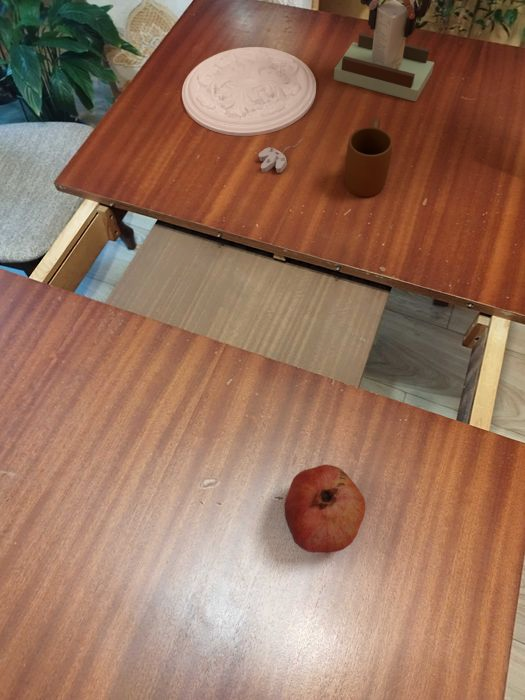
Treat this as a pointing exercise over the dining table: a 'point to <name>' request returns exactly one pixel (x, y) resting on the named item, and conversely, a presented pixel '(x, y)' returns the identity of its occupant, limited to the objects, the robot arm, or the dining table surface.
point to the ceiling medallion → (249, 91)
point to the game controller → (273, 159)
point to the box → (389, 34)
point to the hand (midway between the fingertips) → (390, 31)
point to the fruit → (323, 509)
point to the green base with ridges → (385, 70)
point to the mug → (367, 159)
